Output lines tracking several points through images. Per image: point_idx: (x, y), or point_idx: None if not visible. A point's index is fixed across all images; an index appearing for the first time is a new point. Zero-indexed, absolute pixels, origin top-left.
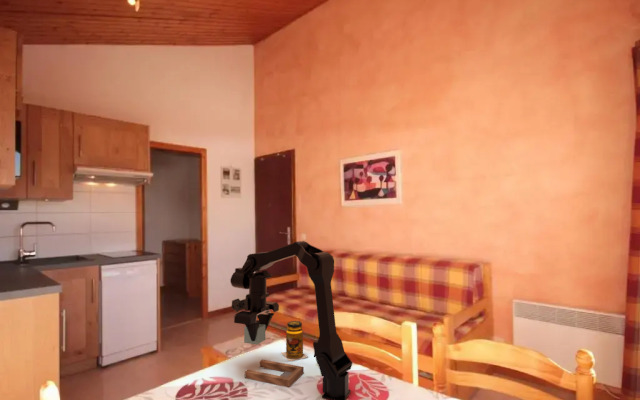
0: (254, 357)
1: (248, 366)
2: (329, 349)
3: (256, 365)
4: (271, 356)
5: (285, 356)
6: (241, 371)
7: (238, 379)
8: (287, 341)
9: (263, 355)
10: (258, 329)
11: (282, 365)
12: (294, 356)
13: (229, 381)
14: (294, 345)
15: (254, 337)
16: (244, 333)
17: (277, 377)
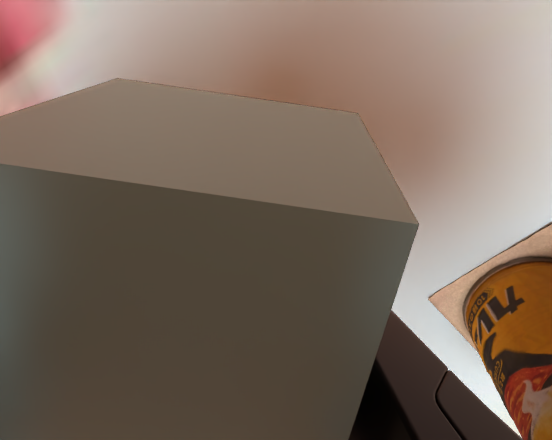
0: (489, 8)
1: (288, 48)
2: None
3: (321, 106)
4: (516, 153)
5: (514, 253)
6: (186, 35)
7: (66, 81)
8: (547, 361)
9: (540, 76)
10: None
11: None
12: (469, 330)
13: (9, 28)
14: (501, 393)
15: None
16: (28, 113)
17: None
